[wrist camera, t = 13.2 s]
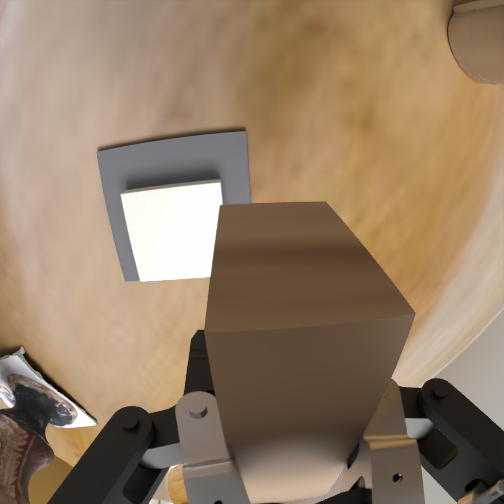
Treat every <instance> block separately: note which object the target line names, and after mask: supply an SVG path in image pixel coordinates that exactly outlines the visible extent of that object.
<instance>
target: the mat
mask: <svg viewBox="0 0 504 504" xmlns="http://www.w3.org/2000/svg"><path fill="white" fill-rule="evenodd" d="M97 157H98V164H99V170H100V175H101V181H102V186H103V192H104V197H105V202H106V206H107V211H108V216H109V220H110V225H111V229H112V233H113V237H114V241H115V245H116V249H117V253H118V257H119V261H120V264H121V268H122V271H123V275H124V278H125V282H126V281H140V278H139V274H138V270H137V266H136V263H135V259H134V255H133V250H132V246H131V242H130V238H129V233H128V229H127V224H126V219H125V215H124V210H123V205H122V199H121V194H122V193H123V192H124V191H125V190H130V189H137V188H145V187H152V186H160V185H168V184H176V183H185V182H194V181H204V180H214V179H221V185H222V196H223V205H229V204H251V201H250V185H249V169H248V154H247V138H246V131H237V132H225V133H214V134H204V135H195V136H187V137H179V138H171V139H164V140H157V141H151V142H145V143H139V144H133V145H128V146H122V147H117V148H112V149H107V150H102V151H98V152H97Z"/></svg>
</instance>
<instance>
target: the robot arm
mask: <svg viewBox="0 0 504 504" xmlns="http://www.w3.org/2000/svg"><path fill="white" fill-rule="evenodd" d="M453 10H454V14H453V16H452V18H451V19H450V22H449V25H448V36H449V42H450V46H451V49H452V52H453V54H454V57H455V59H456V60H457V62H458V64H459V65H460V67H461V68H462V70H463V71H464V72H465V73H466V74H467V75H468V76H469V77H470V78H472V79H473V80H475V81H477V82H479V83H486V84H496V85H497V84H500V85H504V0H477V1H473V2H468V3H465V4H461V5H457V6H454V7H453ZM441 431H442V432H443V433H444V434H445V435H446V436H447V437H448V438H449V439H450V440H451V441H452V442H453V443H452V442H451V441H450V440H449V439H448V438H447V437H446V436H445V435H444V434H443V433H442V432H441ZM179 464H184V466H183V468H182V471H183V478H184V484H185V489H186V493H187V498H188V503H189V504H251V503H250V500H249V497H248V494H247V491H246V488H245V485H244V482H243V479H242V476H241V473H240V470H239V466H238V463H237V461H236V458H235V456H234V453H233V450H232V446H231V445H226V444H225V439H224V435H223V430H222V426H221V421H220V416H219V411H218V406H217V401H216V396H215V391H214V386H213V380H212V375H211V369H210V364H209V358H208V352H207V347H206V341H205V335H204V330H197V332H196V333H195V335H194V336H193V337H192V339H191V344H190V352H189V361H188V366H187V373H186V381H185V389H184V394H183V397H181V398H180V400H179V401H178V402H177V404H176V405H175V406H173V407H171V408H169V409H166V410H163V411H158V412H154V413H148V412H147V411H146V410H144V409H142V408H140V407H136V406H127V407H124V408H121V409H120V410H118V411H117V412H115V414H114V415H113V416H112V417H111V419H110V420H109V421H108V423H107V424H106V425H105V427H104V428H103V429H102V430H101V432H100V433H99V434H98V436H97V437H96V438H95V440H94V441H93V442H92V444H91V445H90V446H89V448H88V449H87V450H86V452H85V453H84V454H83V456H82V457H81V458H80V460H79V461H78V462H77V464H76V465H75V466H74V468H73V469H72V470H71V472H70V473H69V474H68V476H67V477H66V479H65V480H64V481H63V483H62V484H61V485H60V487H59V488H58V489H57V491H56V492H55V494H54V495H53V496H52V498H51V499H50V500H49V502H48V503H47V504H149V502H150V500H151V499H152V497H153V495H154V494H155V492H156V490H157V489H158V487H159V485H160V484H161V482H162V480H163V479H164V477H165V475H166V473H167V472H168V470H169V468H170V467H171V466H175V465H179ZM421 465H422V466H423V468H424V469H425V470H426V471H427V472H428V473H429V474H430V475H431V476H432V477H433V478H434V479H435V480H436V481H437V482H438V483H439V484H440V485H441V486H442V487H443V488H444V490H446V492H448V494H449V495H450V496H451V497H452V498H453V499H454V500H455V501H456V502H457V504H504V431H503V430H502V429H501V428H500V427H499V426H497V425H496V424H495V423H494V422H493V421H492V420H491V419H490V418H489V417H488V416H487V415H485V414H484V413H483V412H482V411H481V410H480V409H479V408H478V407H476V406H475V405H474V404H473V403H472V402H471V401H470V400H469V399H467V398H466V397H465V396H464V395H463V394H462V393H461V392H460V391H458V390H457V389H456V388H455V387H454V386H453V385H452V384H450V383H449V382H448V381H446V380H443V379H440V378H434V379H430V380H428V381H426V382H425V383H424V385H423V387H422V388H410V387H401V386H398V384H397V383H396V382H395V381H394V380H393V379H390V381H389V384H388V386H387V388H386V390H385V392H384V395H383V397H382V399H381V401H380V403H379V405H378V407H377V409H376V411H375V413H374V415H373V417H372V419H371V421H370V423H369V425H368V427H367V428H365V429H363V430H362V432H361V434H360V436H359V443H358V445H357V447H356V448H355V450H354V452H353V454H352V455H351V457H350V458H348V459H346V461H345V463H344V473H343V478H342V481H341V487H340V493H339V494H337V495H335V496H333V497H330V498H328V499H326V500H323V501H321V502H318V503H316V504H425V499H424V488H423V479H422V470H421ZM258 504H281V503H273V502H272V503H258Z"/></svg>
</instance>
